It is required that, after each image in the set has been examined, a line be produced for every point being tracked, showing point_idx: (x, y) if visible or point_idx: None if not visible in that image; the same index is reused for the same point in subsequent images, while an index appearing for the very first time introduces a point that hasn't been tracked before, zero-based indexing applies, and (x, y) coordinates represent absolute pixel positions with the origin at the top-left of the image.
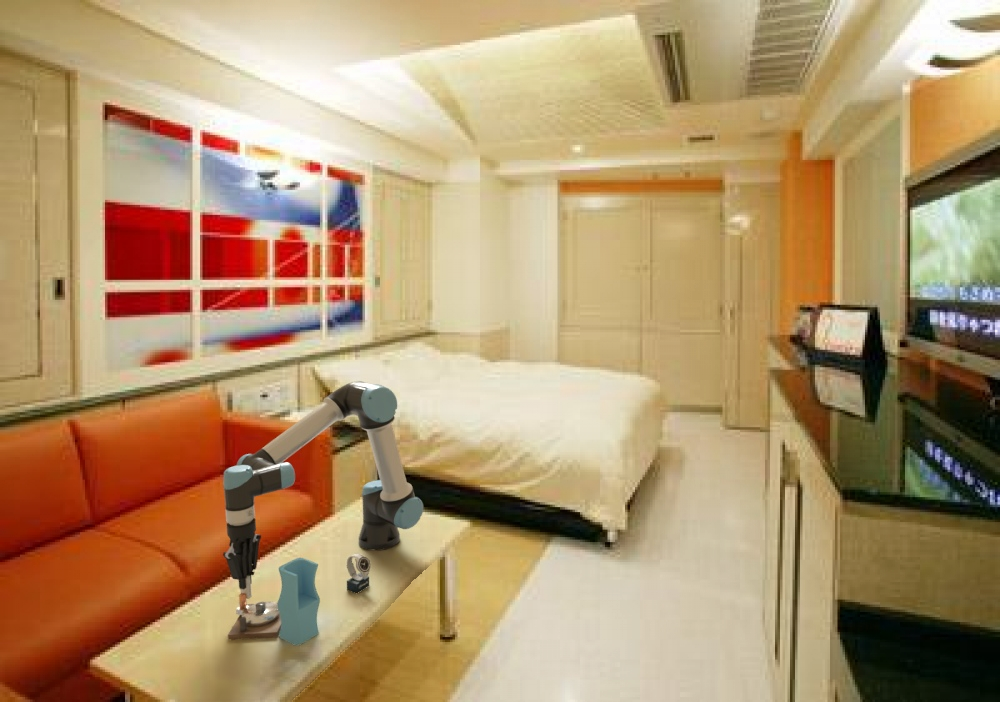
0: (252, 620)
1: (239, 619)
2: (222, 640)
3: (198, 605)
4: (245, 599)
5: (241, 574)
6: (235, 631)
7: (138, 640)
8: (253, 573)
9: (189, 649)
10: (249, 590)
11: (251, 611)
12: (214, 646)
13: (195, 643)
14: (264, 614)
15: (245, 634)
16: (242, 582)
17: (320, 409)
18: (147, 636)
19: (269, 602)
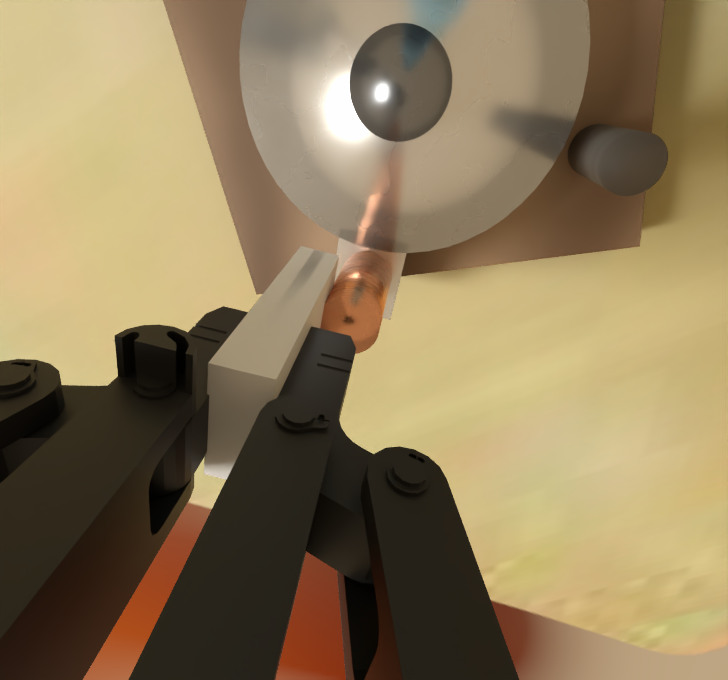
0: (571, 85)
1: (440, 254)
2: (621, 269)
3: None
4: (358, 279)
5: (376, 518)
6: (600, 209)
7: (557, 604)
8: (153, 336)
9: (684, 407)
10: (303, 281)
11: (417, 177)
12: (686, 287)
13: (625, 402)
14: (466, 5)
15: (649, 103)
16: (341, 399)
17: None
18: (530, 589)
19: (256, 75)
